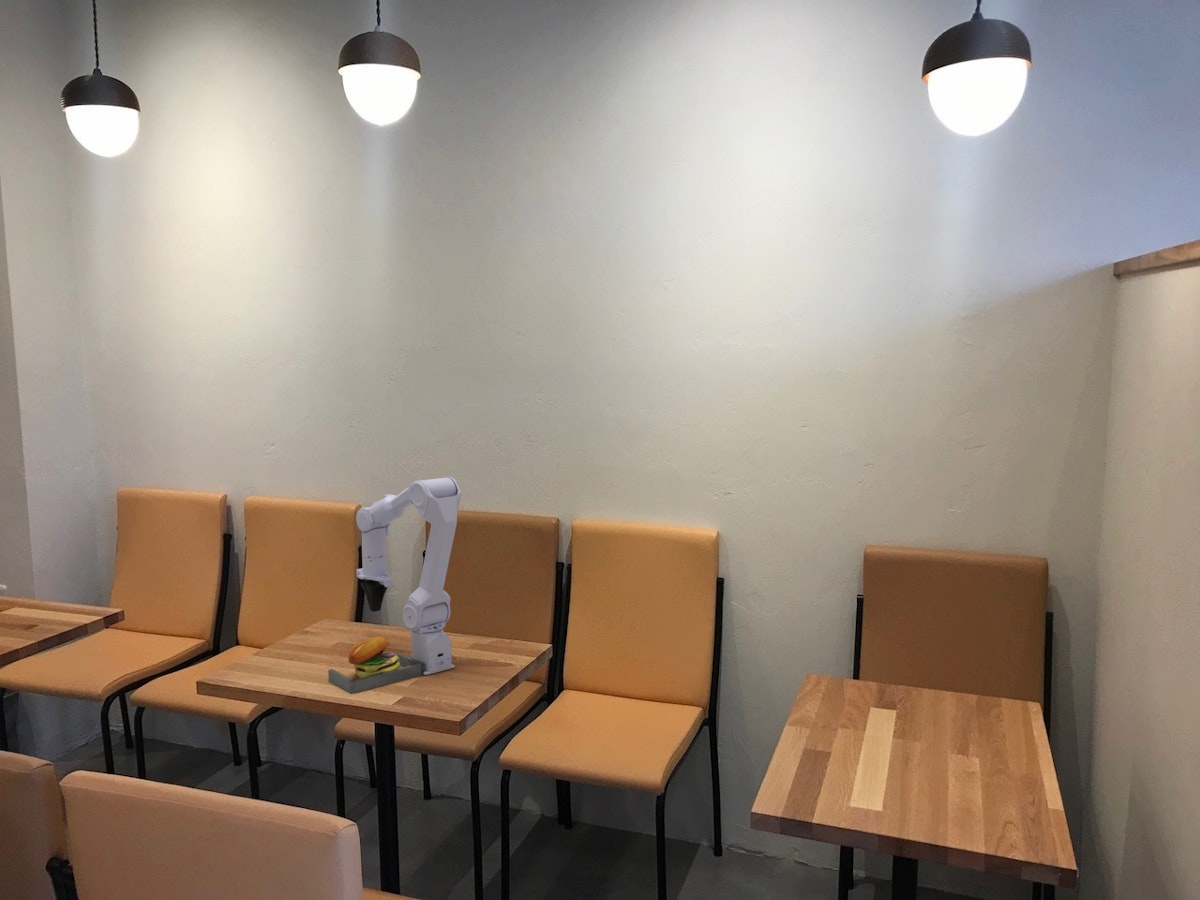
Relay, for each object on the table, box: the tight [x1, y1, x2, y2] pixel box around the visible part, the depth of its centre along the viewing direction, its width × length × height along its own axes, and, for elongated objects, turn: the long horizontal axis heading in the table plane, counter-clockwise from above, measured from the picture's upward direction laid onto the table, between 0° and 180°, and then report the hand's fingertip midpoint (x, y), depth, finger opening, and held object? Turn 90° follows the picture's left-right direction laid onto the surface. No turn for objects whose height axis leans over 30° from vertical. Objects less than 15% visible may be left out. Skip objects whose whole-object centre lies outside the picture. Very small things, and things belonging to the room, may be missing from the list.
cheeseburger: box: [348, 636, 402, 679], centre depth 208 cm, size 10×11×10 cm
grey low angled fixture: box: [327, 652, 425, 695], centre depth 207 cm, size 10×18×2 cm, turn 133°
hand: (375, 610), depth 228 cm, fingers closed
